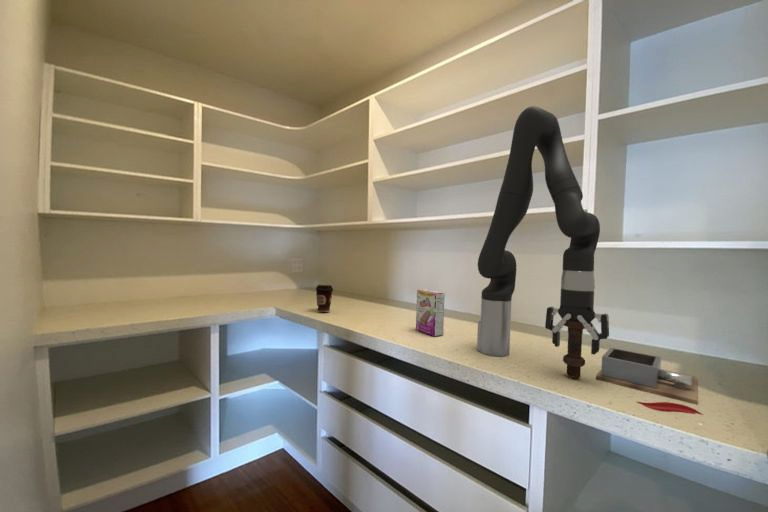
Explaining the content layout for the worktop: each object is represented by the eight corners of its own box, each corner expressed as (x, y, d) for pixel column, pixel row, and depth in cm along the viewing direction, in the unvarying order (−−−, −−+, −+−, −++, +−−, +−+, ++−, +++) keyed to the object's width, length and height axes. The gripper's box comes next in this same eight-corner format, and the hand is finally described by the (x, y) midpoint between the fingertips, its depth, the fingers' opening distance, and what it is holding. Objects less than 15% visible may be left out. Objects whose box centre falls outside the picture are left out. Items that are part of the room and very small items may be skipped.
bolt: (585, 376, 86) (587, 320, 86) (587, 383, 82) (589, 323, 82) (560, 372, 89) (562, 317, 89) (560, 378, 85) (563, 320, 84)
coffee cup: (323, 313, 158) (324, 286, 158) (311, 311, 163) (312, 285, 163) (335, 310, 166) (336, 285, 165) (323, 308, 170) (324, 283, 170)
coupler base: (595, 379, 85) (595, 375, 84) (610, 361, 99) (610, 358, 99) (697, 405, 71) (697, 400, 71) (696, 380, 86) (696, 376, 86)
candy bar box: (414, 330, 130) (416, 289, 130) (424, 329, 133) (425, 289, 133) (434, 337, 121) (435, 293, 121) (443, 335, 124) (445, 292, 124)
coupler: (601, 375, 85) (602, 356, 84) (613, 360, 98) (614, 343, 97) (691, 397, 73) (692, 375, 73) (691, 376, 86) (692, 357, 86)
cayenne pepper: (634, 406, 71) (634, 398, 71) (633, 399, 75) (633, 390, 75) (711, 425, 64) (711, 416, 64) (706, 416, 68) (706, 407, 67)
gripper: (543, 286, 87) (541, 346, 87) (607, 292, 77) (604, 360, 78) (552, 284, 93) (550, 341, 93) (612, 289, 83) (610, 353, 83)
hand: (574, 349), depth 85 cm, fingers open, 8 cm apart
